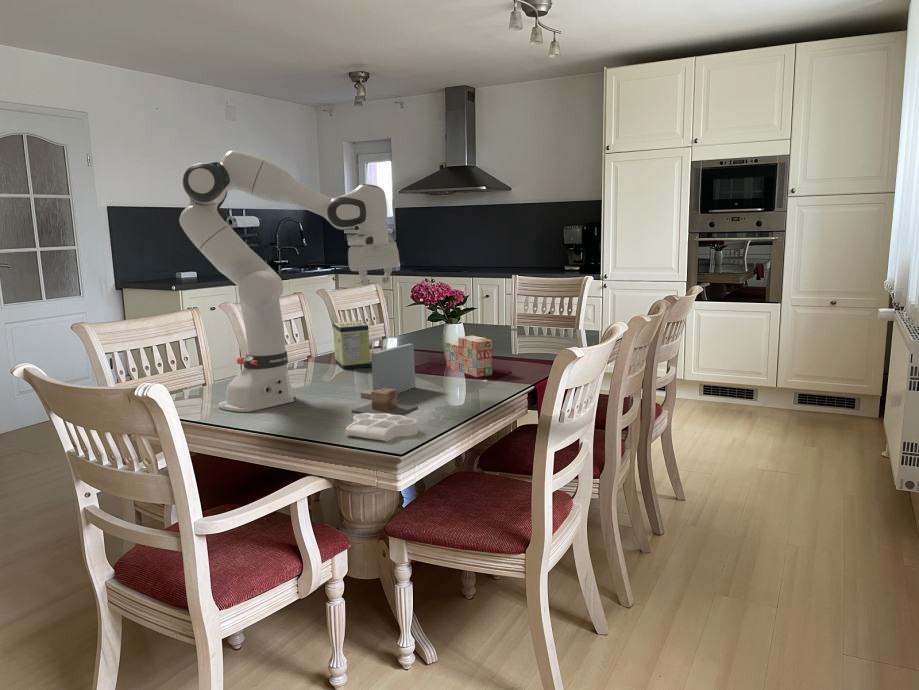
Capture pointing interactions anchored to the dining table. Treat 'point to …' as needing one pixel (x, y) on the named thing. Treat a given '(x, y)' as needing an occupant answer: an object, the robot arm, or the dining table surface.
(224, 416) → the dining table surface
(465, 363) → the stack of blocks
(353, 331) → the protein box
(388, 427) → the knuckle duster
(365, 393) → the pale blue flat slab
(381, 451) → the dining table surface
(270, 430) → the dining table surface
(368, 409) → the mat
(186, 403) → the dining table surface
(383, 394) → the walnut cube
